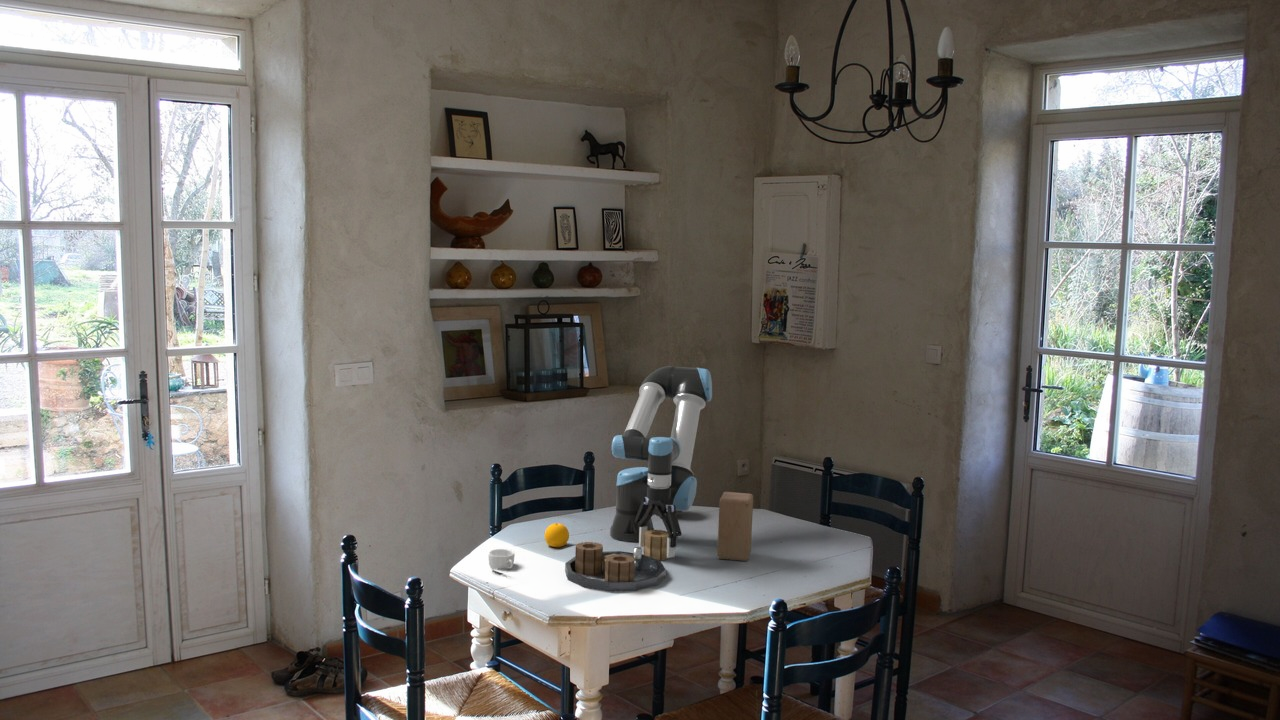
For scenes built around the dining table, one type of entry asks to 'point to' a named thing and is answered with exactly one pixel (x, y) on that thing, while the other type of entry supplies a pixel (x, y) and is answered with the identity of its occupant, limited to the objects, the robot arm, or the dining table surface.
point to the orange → (556, 535)
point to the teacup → (501, 559)
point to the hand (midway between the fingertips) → (656, 551)
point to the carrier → (644, 577)
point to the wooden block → (735, 526)
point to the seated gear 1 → (588, 558)
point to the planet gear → (656, 544)
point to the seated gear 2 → (619, 568)
